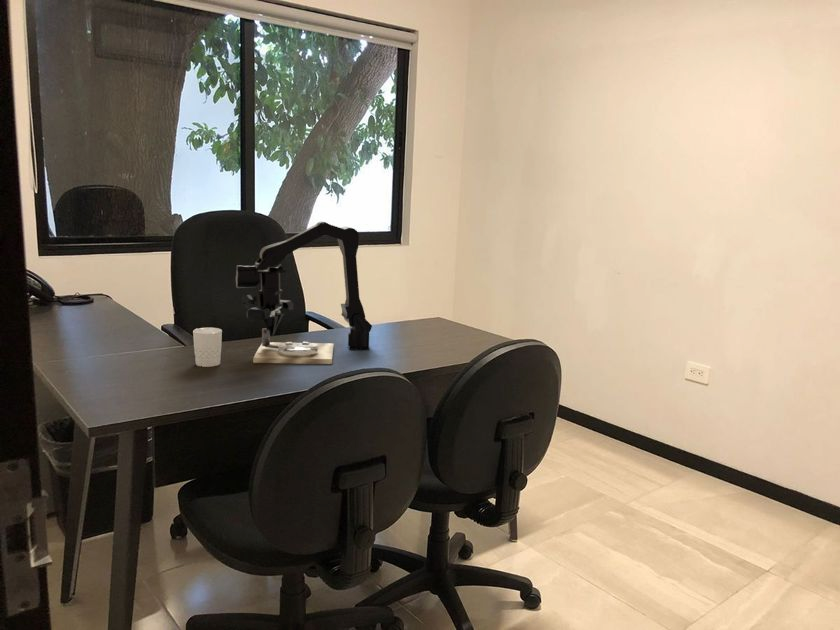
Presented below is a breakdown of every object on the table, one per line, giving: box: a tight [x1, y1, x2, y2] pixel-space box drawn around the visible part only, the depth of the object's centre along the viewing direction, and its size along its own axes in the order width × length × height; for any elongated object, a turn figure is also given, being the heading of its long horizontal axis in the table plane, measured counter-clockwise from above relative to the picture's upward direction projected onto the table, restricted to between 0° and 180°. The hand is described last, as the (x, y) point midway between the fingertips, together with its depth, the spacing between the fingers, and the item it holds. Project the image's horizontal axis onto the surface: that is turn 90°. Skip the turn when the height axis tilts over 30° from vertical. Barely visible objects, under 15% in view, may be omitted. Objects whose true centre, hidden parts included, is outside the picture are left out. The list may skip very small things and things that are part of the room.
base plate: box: [252, 341, 334, 365], centre depth 201 cm, size 23×20×2 cm
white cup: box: [192, 327, 223, 368], centre depth 186 cm, size 8×8×10 cm
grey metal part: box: [261, 327, 318, 357], centre depth 199 cm, size 18×12×6 cm, turn 74°
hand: (271, 336), depth 203 cm, fingers closed
